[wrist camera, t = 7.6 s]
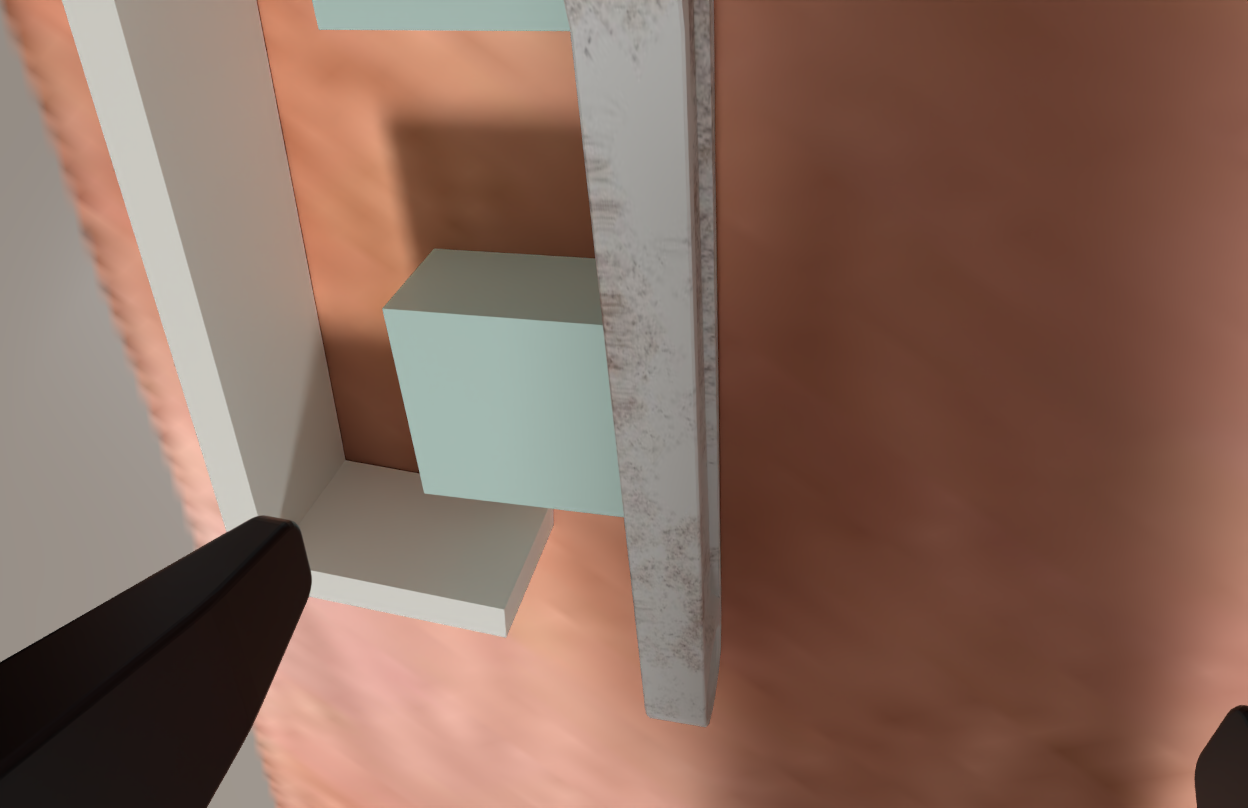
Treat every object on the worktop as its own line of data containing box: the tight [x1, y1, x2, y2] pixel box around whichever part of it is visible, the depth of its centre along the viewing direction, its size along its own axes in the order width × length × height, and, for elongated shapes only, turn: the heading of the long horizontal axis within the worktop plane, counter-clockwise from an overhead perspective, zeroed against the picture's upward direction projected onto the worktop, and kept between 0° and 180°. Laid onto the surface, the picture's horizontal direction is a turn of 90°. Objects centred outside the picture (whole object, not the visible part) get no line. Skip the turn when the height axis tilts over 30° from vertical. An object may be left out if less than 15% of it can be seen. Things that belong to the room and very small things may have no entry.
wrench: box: [564, 0, 721, 727], centre depth 17 cm, size 8×2×30 cm
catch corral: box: [62, 0, 554, 637], centre depth 18 cm, size 7×23×4 cm, turn 179°
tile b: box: [382, 249, 624, 517], centre depth 22 cm, size 5×5×3 cm
